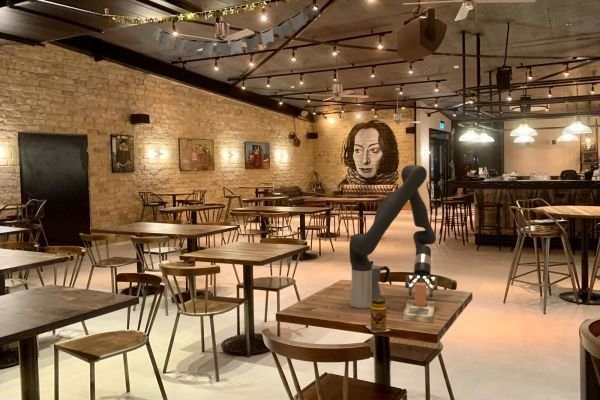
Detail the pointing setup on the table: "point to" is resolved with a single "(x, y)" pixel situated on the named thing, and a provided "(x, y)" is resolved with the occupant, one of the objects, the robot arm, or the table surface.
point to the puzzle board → (419, 312)
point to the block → (420, 294)
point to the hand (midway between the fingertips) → (420, 296)
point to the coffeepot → (377, 279)
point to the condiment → (378, 316)
